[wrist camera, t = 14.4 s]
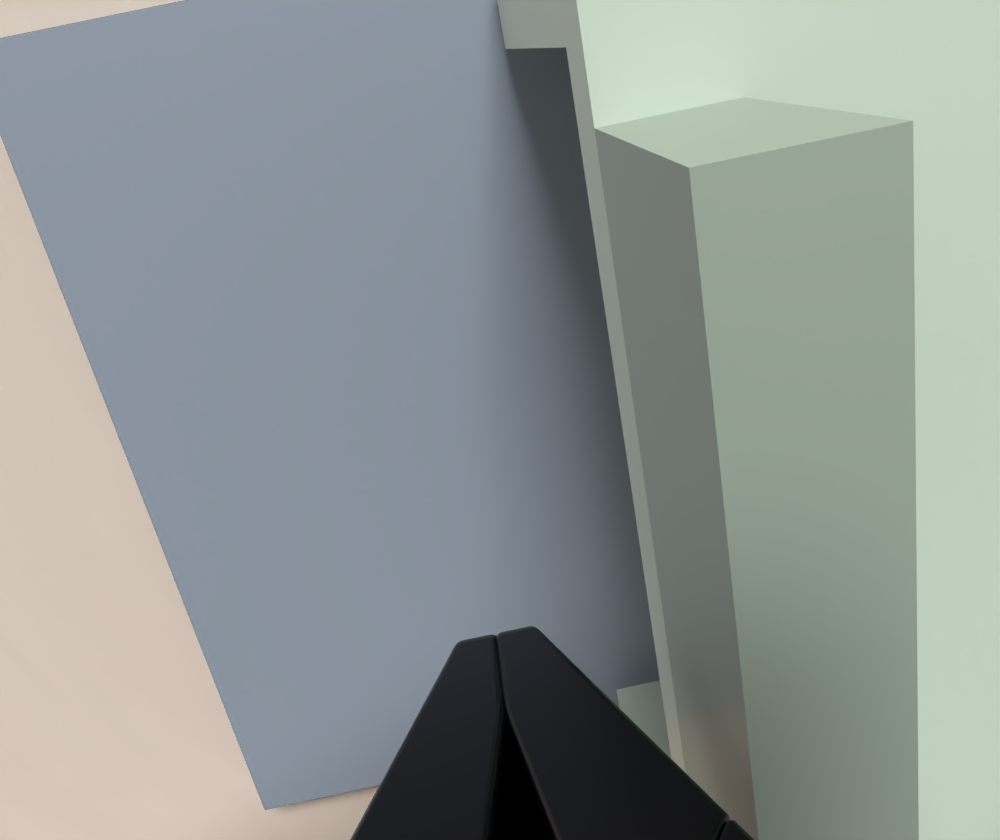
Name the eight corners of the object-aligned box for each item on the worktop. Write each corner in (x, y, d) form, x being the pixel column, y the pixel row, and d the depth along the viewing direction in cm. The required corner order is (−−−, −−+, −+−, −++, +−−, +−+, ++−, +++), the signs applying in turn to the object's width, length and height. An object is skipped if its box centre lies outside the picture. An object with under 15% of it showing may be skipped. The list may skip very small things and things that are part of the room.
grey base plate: (1462, -255, 13) (1865, -372, 10) (1308, 547, 19) (1528, 668, 15) (-3, 45, 13) (-167, 43, 9) (271, 772, 18) (237, 952, 15)
